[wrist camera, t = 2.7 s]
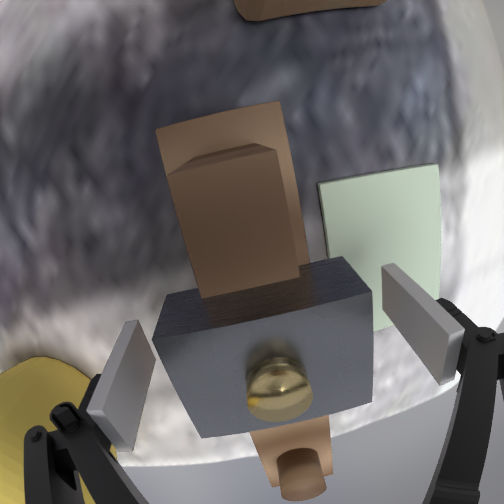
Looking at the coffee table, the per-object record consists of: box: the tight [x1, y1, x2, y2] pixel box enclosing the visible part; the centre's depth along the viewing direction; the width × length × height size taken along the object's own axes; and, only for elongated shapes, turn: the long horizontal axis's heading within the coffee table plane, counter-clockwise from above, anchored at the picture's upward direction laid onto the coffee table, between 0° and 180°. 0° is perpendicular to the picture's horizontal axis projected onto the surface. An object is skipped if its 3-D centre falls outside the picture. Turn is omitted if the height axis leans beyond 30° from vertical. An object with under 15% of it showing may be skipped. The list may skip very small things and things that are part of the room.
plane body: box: [155, 101, 333, 501], centre depth 17 cm, size 26×5×13 cm, turn 12°
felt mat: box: [317, 163, 441, 332], centre depth 22 cm, size 12×9×1 cm
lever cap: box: [152, 256, 373, 438], centre depth 13 cm, size 6×8×5 cm
